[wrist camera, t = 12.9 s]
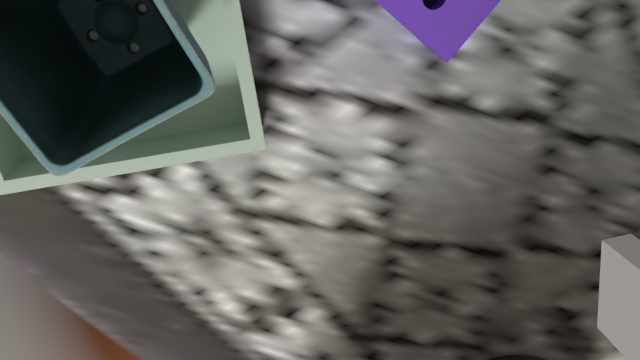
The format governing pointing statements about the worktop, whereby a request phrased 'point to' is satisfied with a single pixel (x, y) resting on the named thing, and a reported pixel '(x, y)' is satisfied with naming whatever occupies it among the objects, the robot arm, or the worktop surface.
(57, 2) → the flower pot
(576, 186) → the worktop surface
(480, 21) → the bracket
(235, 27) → the pale green square tray
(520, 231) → the worktop surface
